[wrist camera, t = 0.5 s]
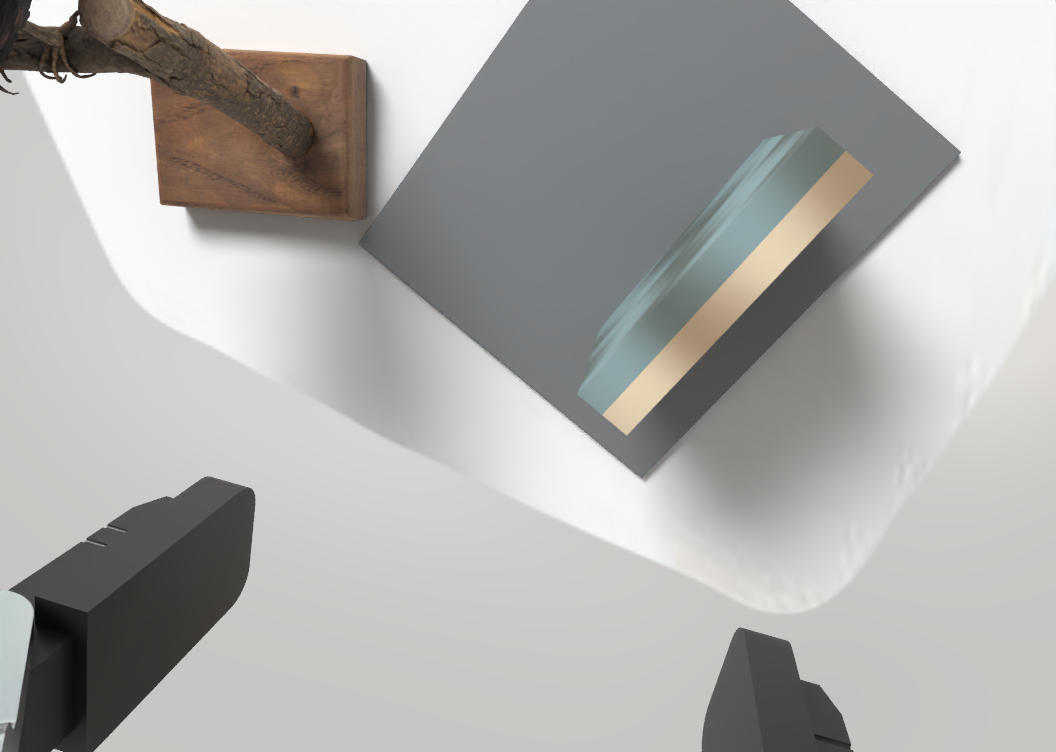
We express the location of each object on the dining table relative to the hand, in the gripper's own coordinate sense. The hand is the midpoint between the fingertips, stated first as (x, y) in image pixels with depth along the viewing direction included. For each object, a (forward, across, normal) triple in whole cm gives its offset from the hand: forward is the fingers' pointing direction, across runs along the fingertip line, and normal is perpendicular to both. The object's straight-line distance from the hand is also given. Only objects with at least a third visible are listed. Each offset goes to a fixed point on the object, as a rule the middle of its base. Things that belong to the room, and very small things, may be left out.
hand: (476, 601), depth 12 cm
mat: (+28, 0, -5) cm, 29 cm away
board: (+28, -4, -3) cm, 28 cm away
